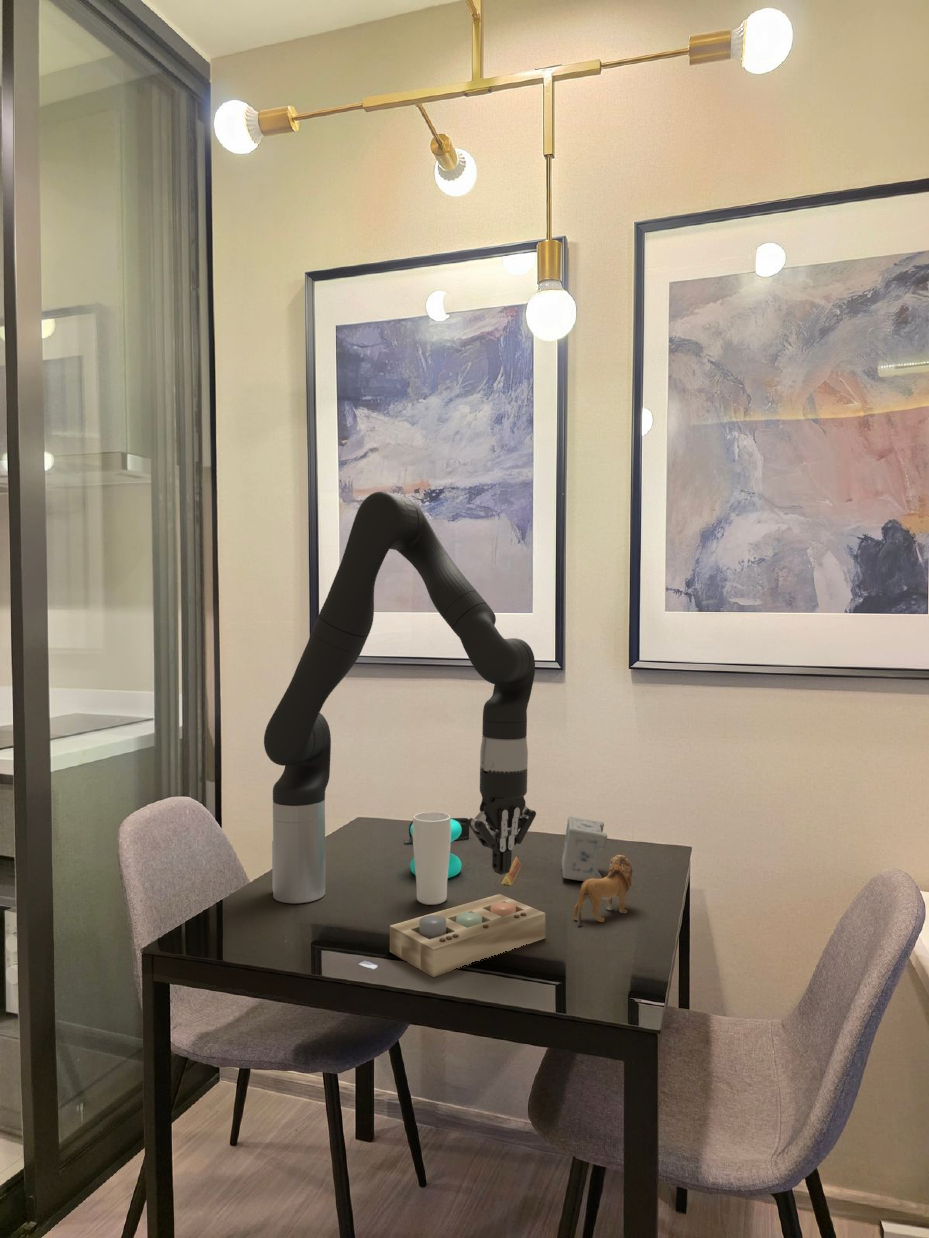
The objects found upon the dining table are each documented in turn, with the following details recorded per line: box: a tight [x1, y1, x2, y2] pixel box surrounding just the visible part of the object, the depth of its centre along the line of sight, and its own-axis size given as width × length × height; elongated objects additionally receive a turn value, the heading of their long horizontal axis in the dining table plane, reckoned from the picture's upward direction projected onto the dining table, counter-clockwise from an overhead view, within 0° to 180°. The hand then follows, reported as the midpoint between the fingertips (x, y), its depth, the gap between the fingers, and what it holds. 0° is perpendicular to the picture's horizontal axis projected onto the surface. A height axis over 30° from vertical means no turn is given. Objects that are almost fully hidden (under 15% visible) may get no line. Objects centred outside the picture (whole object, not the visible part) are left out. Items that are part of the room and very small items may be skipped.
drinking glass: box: [412, 811, 452, 906], centre depth 151 cm, size 7×7×15 cm
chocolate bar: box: [500, 856, 522, 886], centre depth 165 cm, size 3×12×2 cm, turn 168°
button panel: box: [389, 893, 546, 978], centre depth 131 cm, size 11×22×4 cm, turn 129°
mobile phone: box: [403, 817, 470, 845], centre depth 188 cm, size 5×3×15 cm
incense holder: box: [560, 816, 608, 882], centre depth 164 cm, size 10×8×10 cm
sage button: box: [456, 912, 482, 928], centre depth 131 cm, size 4×4×3 cm
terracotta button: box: [491, 902, 516, 917], centre depth 136 cm, size 4×4×3 cm
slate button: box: [419, 915, 446, 939], centre depth 127 cm, size 4×4×3 cm
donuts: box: [409, 819, 463, 879], centre depth 166 cm, size 10×10×10 cm
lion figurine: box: [573, 854, 634, 925], centre depth 144 cm, size 15×5×9 cm, turn 138°
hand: (501, 872), depth 136 cm, fingers closed
